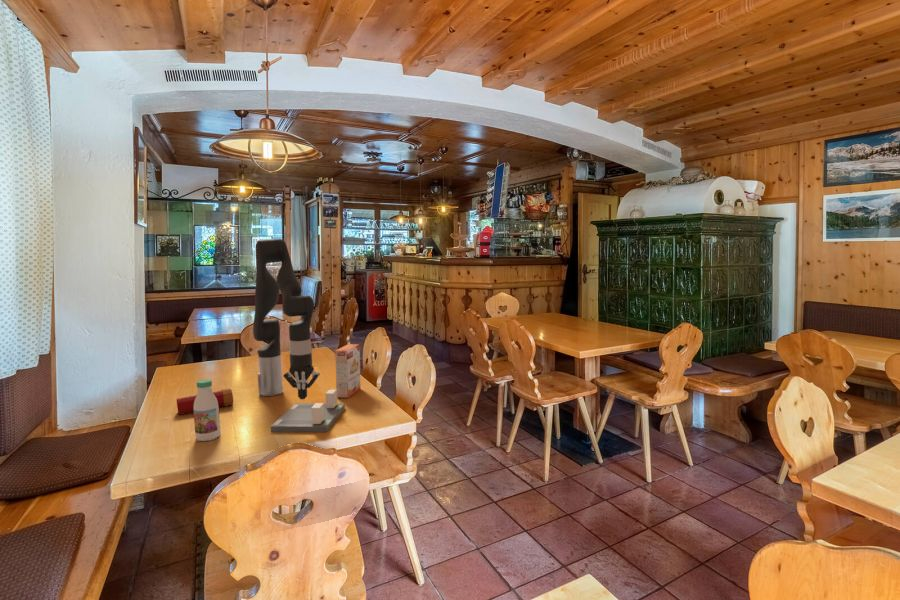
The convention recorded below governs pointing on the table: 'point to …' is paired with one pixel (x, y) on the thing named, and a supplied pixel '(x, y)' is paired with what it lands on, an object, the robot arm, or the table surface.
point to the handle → (331, 398)
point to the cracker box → (347, 370)
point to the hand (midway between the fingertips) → (302, 398)
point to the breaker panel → (306, 419)
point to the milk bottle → (206, 412)
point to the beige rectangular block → (317, 413)
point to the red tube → (188, 402)
